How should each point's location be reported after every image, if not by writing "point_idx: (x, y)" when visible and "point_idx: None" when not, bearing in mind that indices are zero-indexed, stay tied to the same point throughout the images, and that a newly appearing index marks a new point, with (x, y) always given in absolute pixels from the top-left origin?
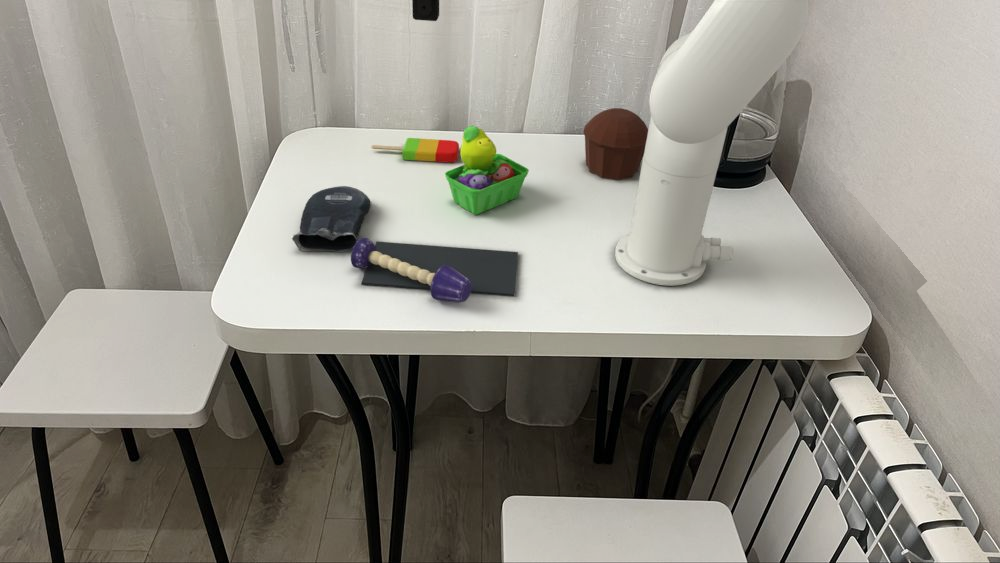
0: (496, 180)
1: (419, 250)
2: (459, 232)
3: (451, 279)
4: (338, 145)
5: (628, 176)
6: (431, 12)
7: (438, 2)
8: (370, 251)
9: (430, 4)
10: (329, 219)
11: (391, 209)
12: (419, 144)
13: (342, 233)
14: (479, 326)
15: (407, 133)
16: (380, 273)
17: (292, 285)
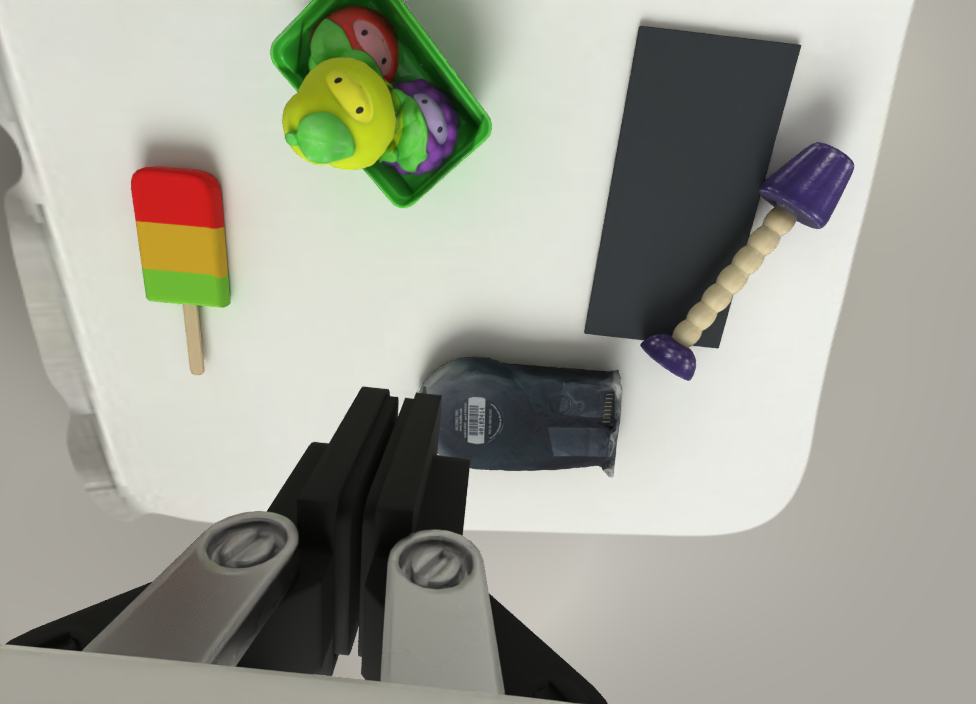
0: (395, 65)
1: (622, 250)
2: (543, 166)
3: (838, 188)
4: (191, 436)
5: None
6: (434, 449)
7: (365, 433)
8: (684, 347)
9: (464, 489)
10: (560, 427)
11: (453, 312)
12: (178, 270)
13: (606, 400)
14: (879, 127)
15: (86, 297)
16: None
17: (703, 449)
